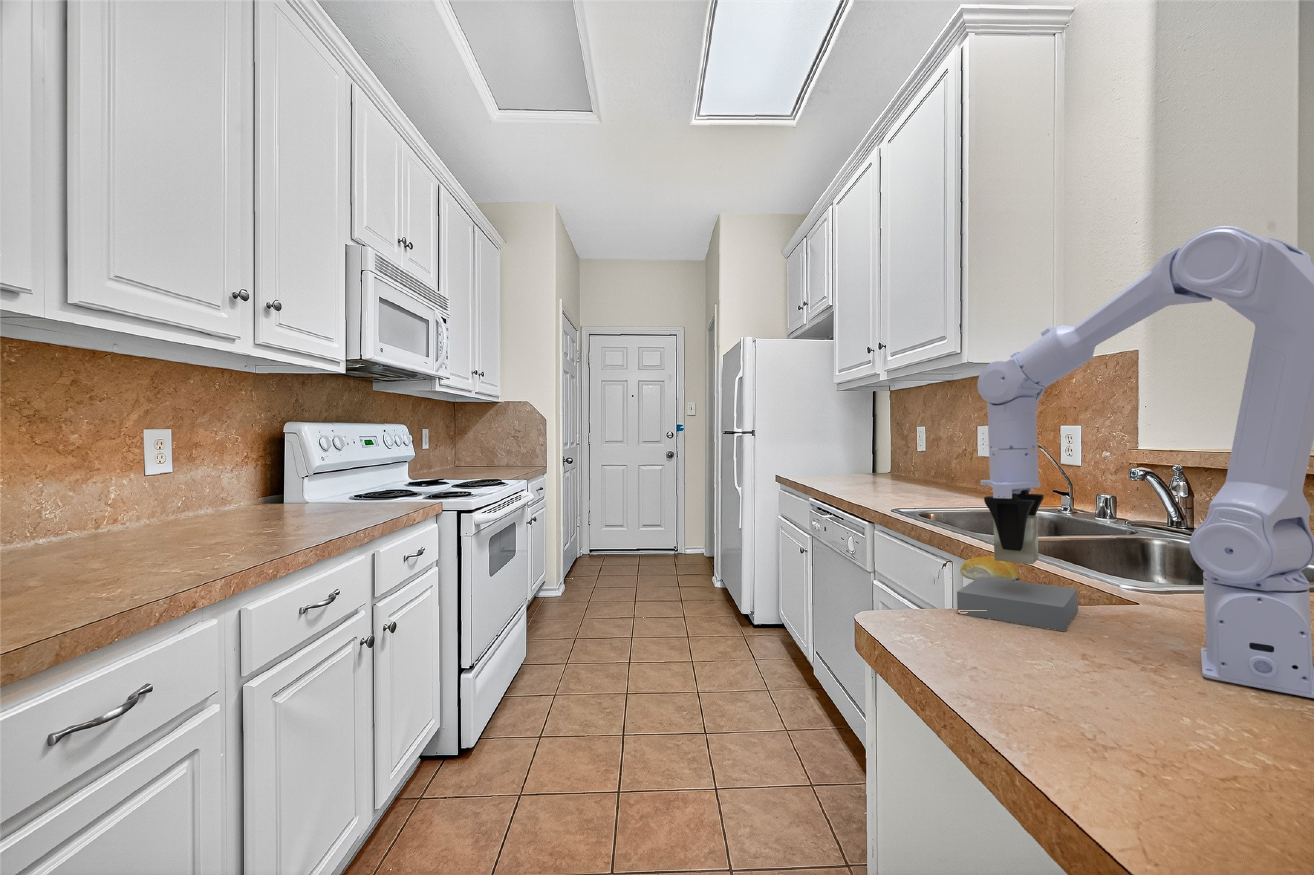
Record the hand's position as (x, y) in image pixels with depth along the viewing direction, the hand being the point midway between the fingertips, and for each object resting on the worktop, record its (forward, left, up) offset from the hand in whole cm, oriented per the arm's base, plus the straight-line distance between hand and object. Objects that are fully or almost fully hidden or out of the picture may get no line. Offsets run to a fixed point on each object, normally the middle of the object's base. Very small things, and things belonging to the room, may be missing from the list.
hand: (1016, 547), depth 77 cm
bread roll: (+21, +8, -9) cm, 24 cm away
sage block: (0, 0, -2) cm, 2 cm away
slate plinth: (0, 0, -9) cm, 9 cm away
